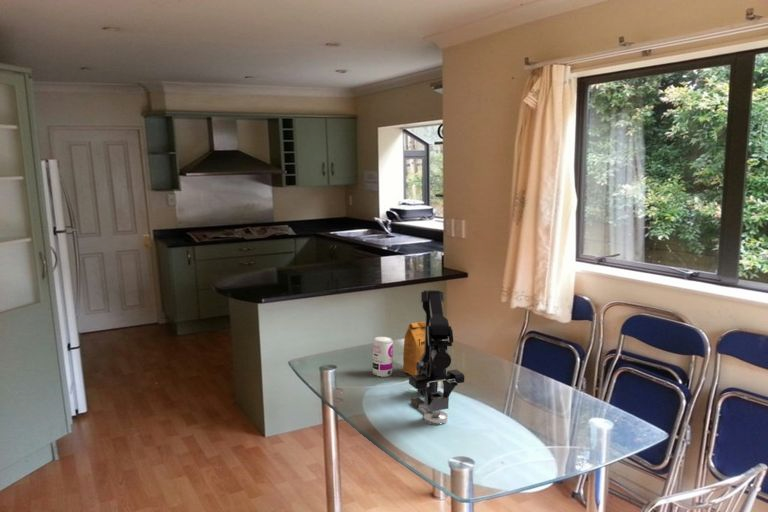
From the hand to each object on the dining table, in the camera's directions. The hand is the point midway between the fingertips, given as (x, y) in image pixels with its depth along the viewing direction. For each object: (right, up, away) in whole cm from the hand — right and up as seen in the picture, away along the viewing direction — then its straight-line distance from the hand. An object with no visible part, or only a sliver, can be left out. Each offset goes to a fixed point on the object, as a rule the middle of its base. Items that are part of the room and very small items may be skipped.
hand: (436, 403), depth 200 cm
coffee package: (-3, +1, +46) cm, 46 cm away
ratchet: (-3, -5, +6) cm, 8 cm away
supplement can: (-18, +1, +44) cm, 47 cm away
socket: (0, -1, 0) cm, 1 cm away
